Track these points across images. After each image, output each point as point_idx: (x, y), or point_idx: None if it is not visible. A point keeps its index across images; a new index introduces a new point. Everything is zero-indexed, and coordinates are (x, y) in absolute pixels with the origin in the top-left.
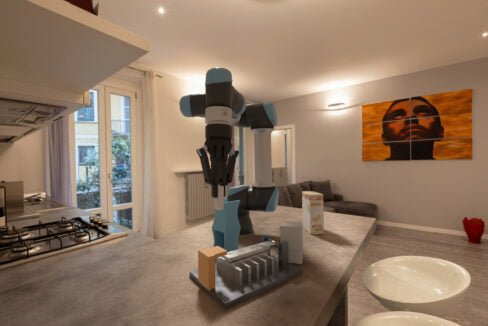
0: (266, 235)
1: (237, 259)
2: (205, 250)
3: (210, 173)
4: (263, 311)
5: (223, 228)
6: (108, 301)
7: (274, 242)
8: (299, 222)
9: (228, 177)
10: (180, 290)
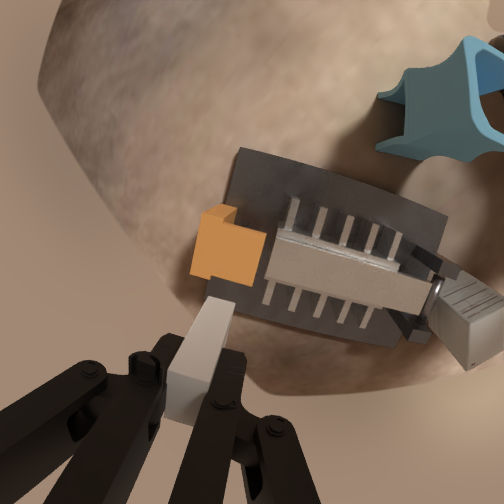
0: (453, 270)
1: None
2: (213, 233)
3: (65, 450)
4: (243, 344)
5: (411, 130)
6: (101, 121)
7: (426, 306)
8: (502, 346)
9: (246, 480)
10: (191, 183)
